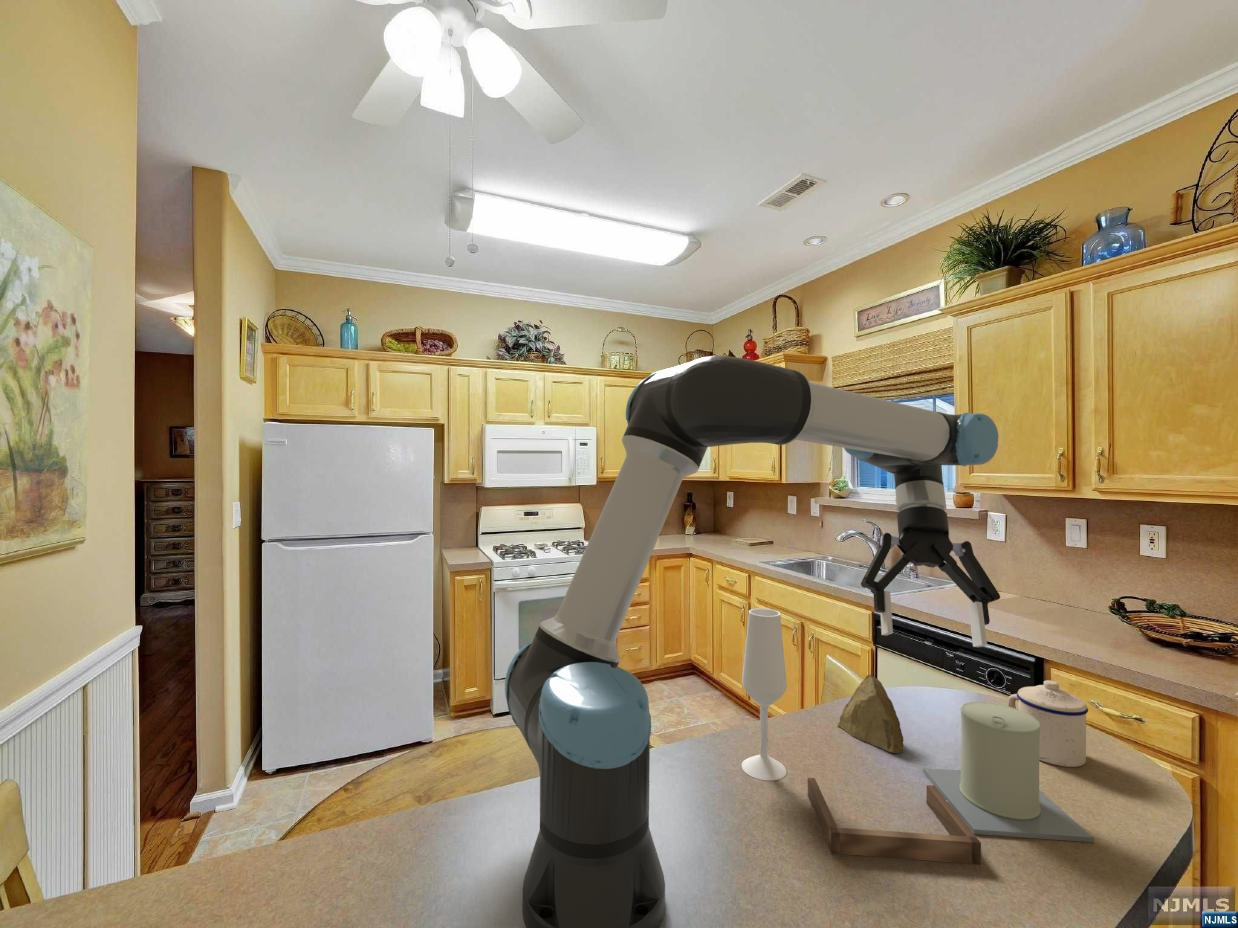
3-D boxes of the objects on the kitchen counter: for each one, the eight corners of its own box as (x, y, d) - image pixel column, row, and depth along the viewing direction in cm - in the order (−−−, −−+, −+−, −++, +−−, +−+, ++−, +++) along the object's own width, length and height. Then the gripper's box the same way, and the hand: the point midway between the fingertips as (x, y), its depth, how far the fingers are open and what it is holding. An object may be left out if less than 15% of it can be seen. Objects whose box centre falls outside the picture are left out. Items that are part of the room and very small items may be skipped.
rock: (925, 743, 87) (900, 707, 97) (893, 702, 87) (872, 670, 96) (866, 777, 89) (848, 738, 99) (835, 736, 88) (820, 702, 98)
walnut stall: (831, 852, 65) (831, 832, 65) (807, 795, 77) (807, 777, 77) (980, 864, 64) (981, 842, 64) (934, 803, 75) (934, 785, 75)
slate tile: (973, 833, 69) (973, 829, 69) (923, 771, 83) (923, 767, 83) (1093, 842, 68) (1093, 837, 68) (1021, 777, 81) (1021, 773, 81)
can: (957, 803, 74) (958, 715, 74) (961, 772, 82) (961, 692, 82) (1043, 829, 69) (1043, 735, 69) (1038, 793, 76) (1038, 708, 76)
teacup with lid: (1103, 765, 85) (1103, 690, 85) (1056, 772, 83) (1056, 695, 83) (1030, 728, 97) (1030, 663, 97) (987, 734, 95) (988, 667, 95)
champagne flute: (774, 786, 79) (775, 621, 79) (733, 768, 83) (734, 612, 83) (793, 766, 84) (794, 611, 84) (753, 751, 88) (754, 604, 89)
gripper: (988, 526, 95) (1006, 653, 86) (839, 511, 98) (842, 632, 90) (1012, 512, 88) (1035, 648, 80) (852, 496, 91) (857, 625, 83)
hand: (933, 640), depth 85 cm, fingers open, 13 cm apart
